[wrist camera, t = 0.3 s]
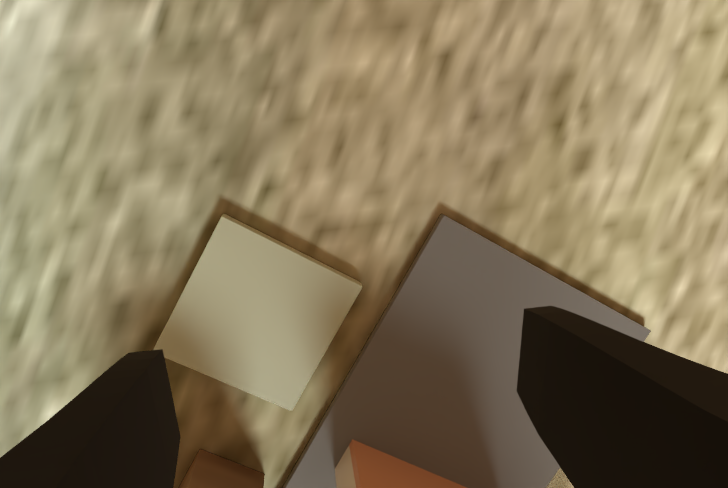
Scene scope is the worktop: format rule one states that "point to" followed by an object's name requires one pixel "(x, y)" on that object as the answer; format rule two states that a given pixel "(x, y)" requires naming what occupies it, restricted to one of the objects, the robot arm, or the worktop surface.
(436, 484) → the tile
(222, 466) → the block
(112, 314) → the worktop surface
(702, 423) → the robot arm
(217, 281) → the board
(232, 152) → the worktop surface
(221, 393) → the worktop surface
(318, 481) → the mat
